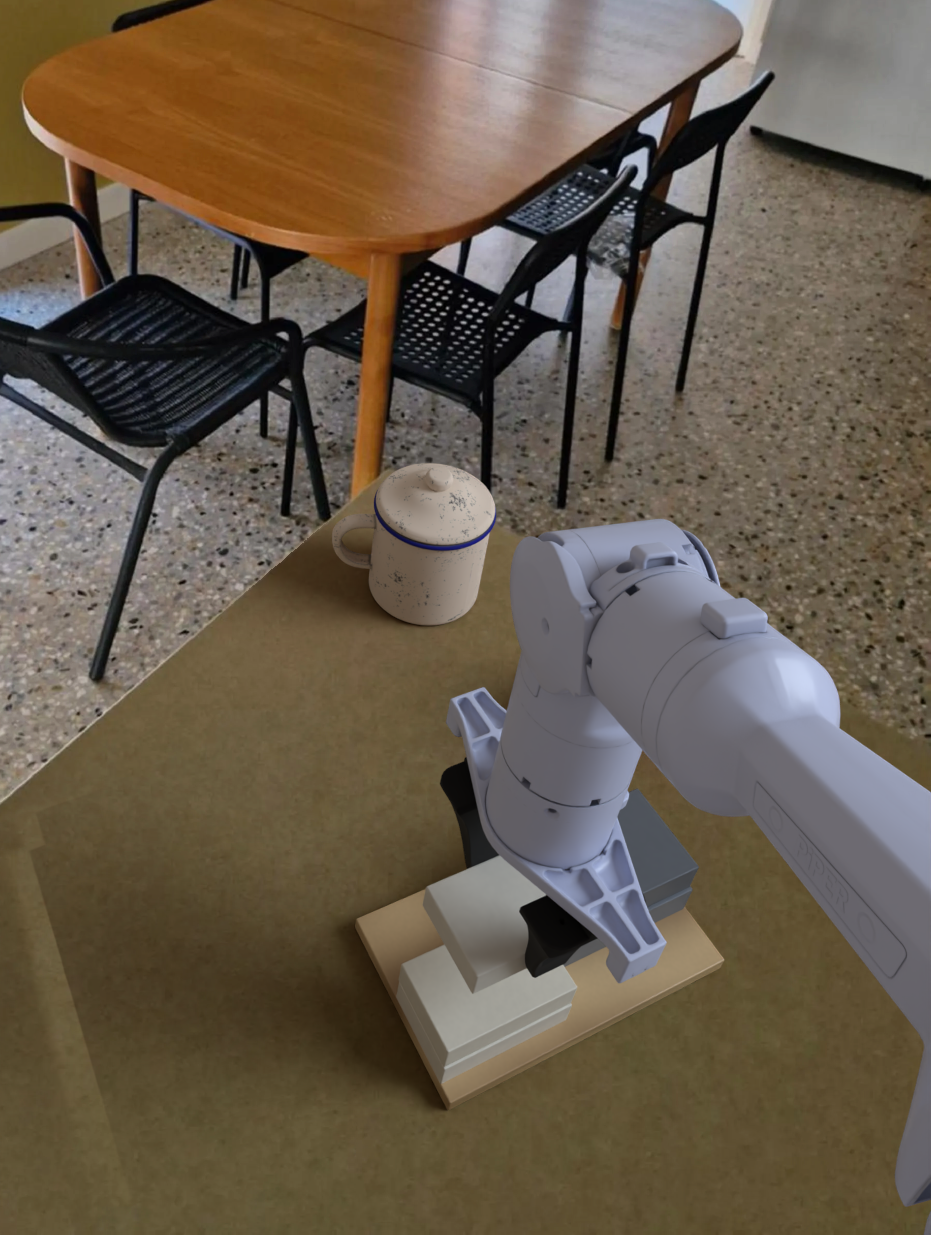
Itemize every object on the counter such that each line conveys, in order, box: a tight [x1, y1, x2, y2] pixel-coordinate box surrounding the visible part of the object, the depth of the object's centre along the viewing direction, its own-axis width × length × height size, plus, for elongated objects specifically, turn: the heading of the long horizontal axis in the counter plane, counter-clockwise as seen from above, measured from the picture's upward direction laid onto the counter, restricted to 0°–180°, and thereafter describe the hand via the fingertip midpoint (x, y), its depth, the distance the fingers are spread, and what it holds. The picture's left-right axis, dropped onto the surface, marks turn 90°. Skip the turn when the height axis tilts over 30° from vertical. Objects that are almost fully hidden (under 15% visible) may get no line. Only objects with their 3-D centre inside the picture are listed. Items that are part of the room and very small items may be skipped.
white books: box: [396, 945, 577, 1084], centre depth 60 cm, size 5×8×4 cm, turn 116°
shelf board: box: [354, 888, 725, 1111], centre depth 65 cm, size 11×18×1 cm, turn 116°
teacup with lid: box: [331, 462, 497, 626], centre depth 84 cm, size 12×9×12 cm
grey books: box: [563, 788, 700, 967], centre depth 66 cm, size 6×9×4 cm, turn 116°
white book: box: [423, 855, 546, 994], centre depth 56 cm, size 5×8×2 cm, turn 116°
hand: (516, 915), depth 56 cm, fingers closed on white book, 5 cm apart
